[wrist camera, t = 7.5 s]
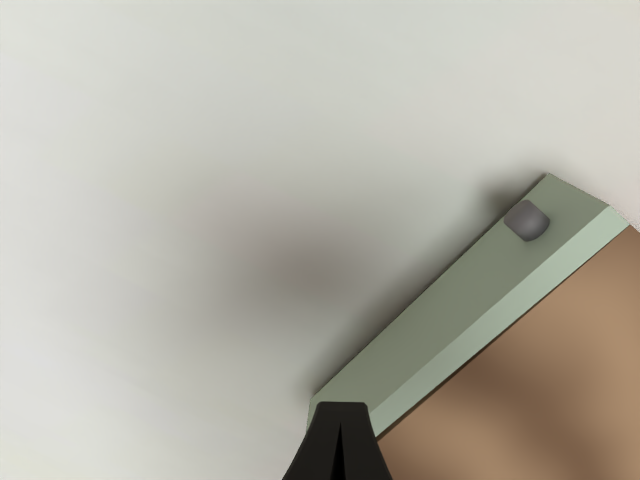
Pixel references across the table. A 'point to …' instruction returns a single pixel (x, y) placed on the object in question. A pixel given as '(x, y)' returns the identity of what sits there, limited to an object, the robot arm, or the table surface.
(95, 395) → the table surface
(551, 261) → the door
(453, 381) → the cabinet
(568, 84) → the table surface
